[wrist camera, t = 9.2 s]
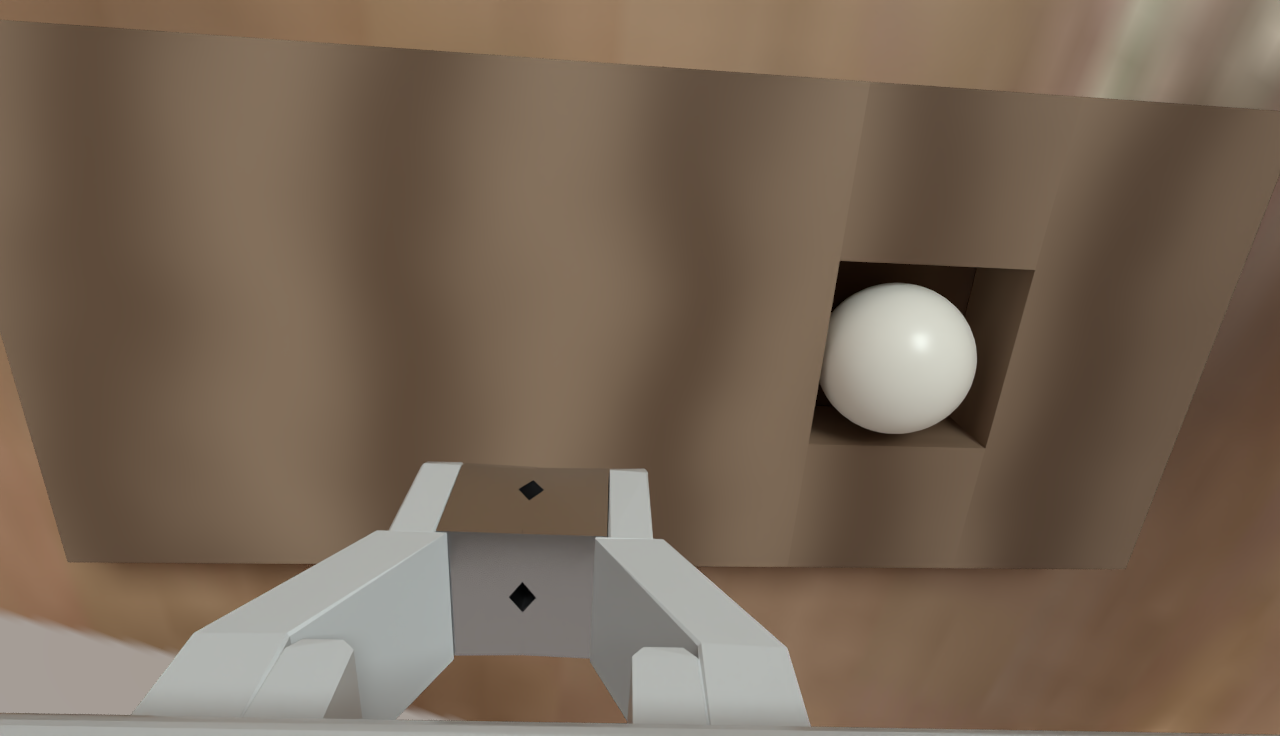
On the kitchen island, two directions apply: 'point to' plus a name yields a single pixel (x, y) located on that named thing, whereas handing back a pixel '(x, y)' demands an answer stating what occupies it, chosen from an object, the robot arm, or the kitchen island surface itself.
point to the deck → (590, 294)
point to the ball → (897, 358)
